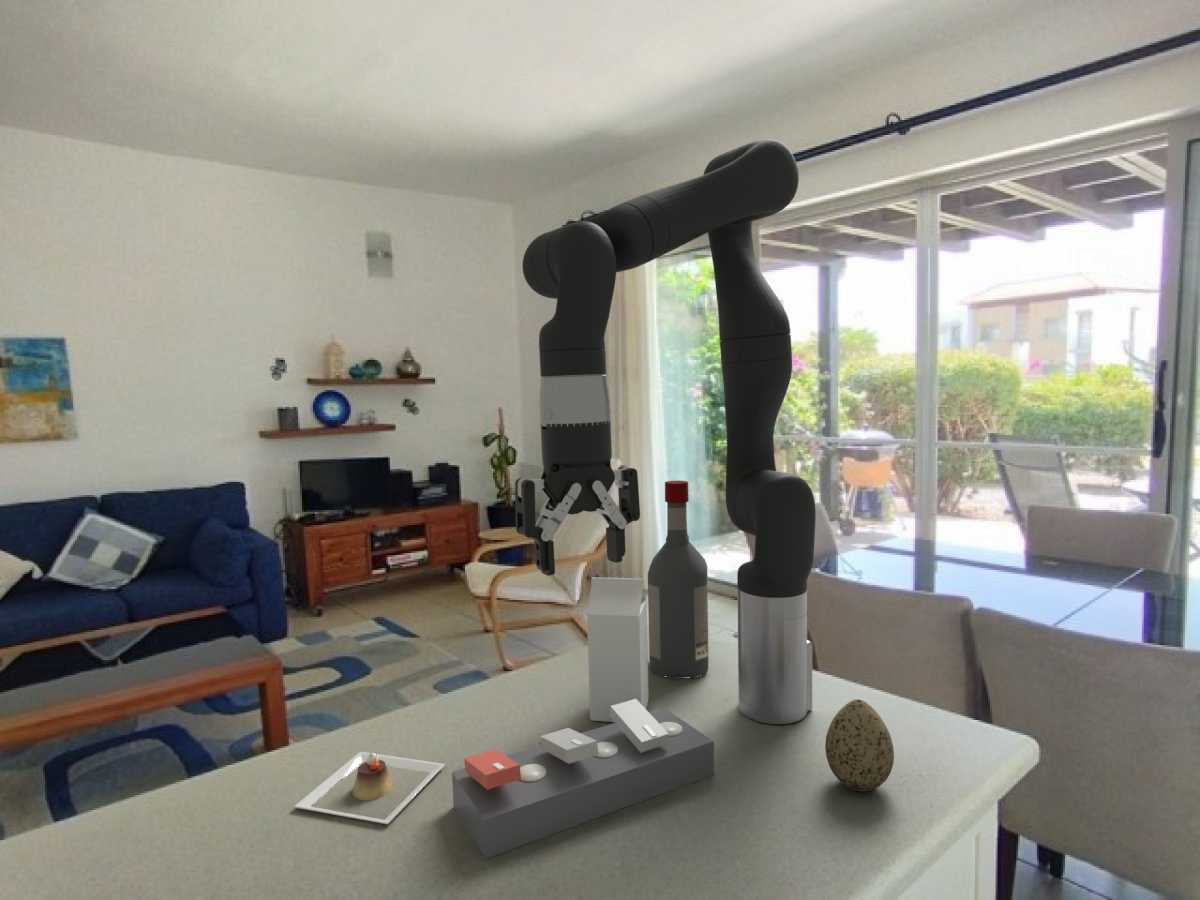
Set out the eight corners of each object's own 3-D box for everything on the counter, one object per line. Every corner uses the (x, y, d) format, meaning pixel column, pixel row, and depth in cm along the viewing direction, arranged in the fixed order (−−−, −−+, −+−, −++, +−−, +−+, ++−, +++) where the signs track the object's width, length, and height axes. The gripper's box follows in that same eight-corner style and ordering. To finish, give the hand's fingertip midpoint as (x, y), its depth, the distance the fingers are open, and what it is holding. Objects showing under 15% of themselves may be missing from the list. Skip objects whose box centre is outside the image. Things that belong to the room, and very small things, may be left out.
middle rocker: (570, 740, 82) (568, 726, 82) (598, 754, 76) (596, 739, 76) (541, 748, 80) (540, 735, 80) (568, 763, 74) (567, 748, 74)
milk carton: (641, 725, 94) (638, 586, 92) (589, 721, 96) (585, 584, 94) (648, 701, 101) (645, 572, 99) (600, 698, 102) (596, 570, 101)
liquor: (648, 677, 109) (644, 486, 107) (653, 655, 118) (650, 478, 116) (708, 680, 108) (705, 486, 105) (708, 657, 117) (706, 478, 114)
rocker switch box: (665, 737, 91) (664, 706, 90) (714, 774, 82) (713, 739, 81) (453, 806, 77) (451, 770, 76) (485, 858, 68) (483, 817, 68)
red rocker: (497, 762, 77) (495, 748, 77) (521, 779, 71) (519, 763, 71) (465, 771, 76) (463, 757, 76) (487, 789, 69) (485, 774, 70)
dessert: (388, 834, 73) (385, 790, 73) (293, 816, 77) (290, 774, 76) (446, 772, 85) (444, 734, 84) (360, 759, 88) (358, 723, 88)
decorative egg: (815, 791, 78) (815, 704, 77) (837, 762, 84) (837, 681, 83) (882, 813, 74) (883, 722, 73) (901, 782, 79) (902, 696, 78)
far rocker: (634, 708, 86) (636, 697, 86) (667, 744, 80) (668, 732, 80) (609, 716, 84) (610, 705, 84) (640, 752, 78) (642, 741, 78)
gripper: (614, 414, 82) (620, 551, 84) (499, 421, 75) (508, 571, 77) (650, 415, 76) (655, 564, 77) (528, 424, 69) (536, 587, 70)
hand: (581, 567), depth 77 cm, fingers open, 8 cm apart
